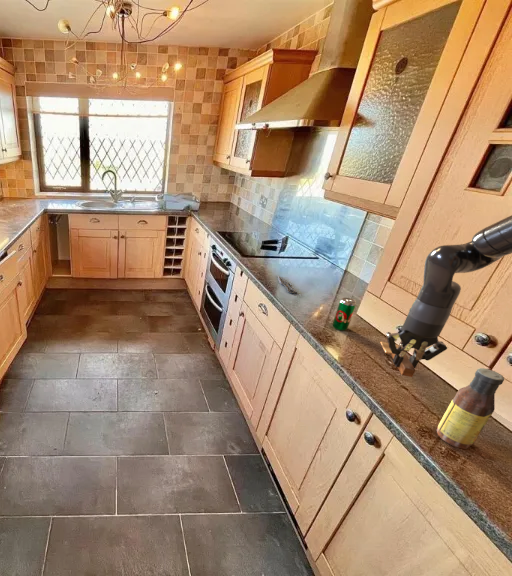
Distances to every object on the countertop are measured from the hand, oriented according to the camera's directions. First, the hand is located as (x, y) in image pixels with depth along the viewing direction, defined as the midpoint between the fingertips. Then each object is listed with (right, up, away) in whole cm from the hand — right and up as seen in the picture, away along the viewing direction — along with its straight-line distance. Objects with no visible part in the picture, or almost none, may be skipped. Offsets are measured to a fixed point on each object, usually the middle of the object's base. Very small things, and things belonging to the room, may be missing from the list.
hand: (402, 366), depth 90 cm
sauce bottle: (-2, -14, -15) cm, 21 cm away
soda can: (+1, +8, +28) cm, 29 cm away
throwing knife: (-3, +25, +62) cm, 67 cm away
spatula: (+2, +1, +3) cm, 4 cm away
